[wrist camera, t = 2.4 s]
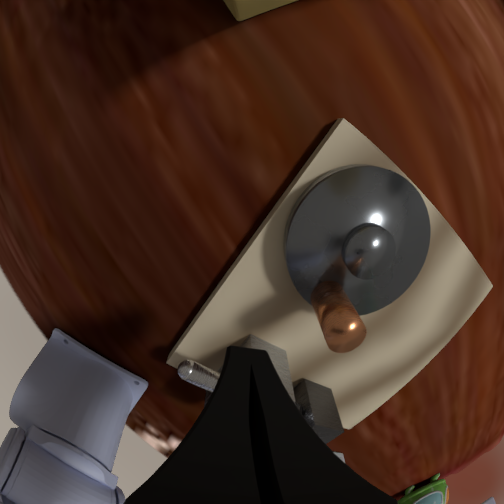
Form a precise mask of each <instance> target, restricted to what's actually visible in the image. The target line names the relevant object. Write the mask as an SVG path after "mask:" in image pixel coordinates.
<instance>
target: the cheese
mask: <svg viewBox="0 0 504 504" xmlns="http://www.w3.org/2000/svg"><path fill="white" fill-rule="evenodd" d="M223 1H224V2H225V4H226V5H227V7H228V8H229V10H230V11H231V13H232V14H233V16H234V17H235V19H236V20H237V21H243V20H245V19H248V18H250V17H253V16H256V15H258V14H261V13H264V12H266V11H269V10H272V9H275V8H277V7H280V6H283V5H286V4H289V3H292V2H294V1H297V0H223Z"/></svg>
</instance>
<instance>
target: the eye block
mask: <svg viewBox="0 0 504 504" xmlns="http://www.w3.org/2000/svg"><path fill="white" fill-rule="evenodd" d="M239 347H246V348H253V349H261V350H266V351H267V352H268V354H269V356H270V359H271V361H272V363H273V365H274V367H275V369H276V371H277V373H278V375H279V377H280V379H281V381H282V383H283V385H284V386H285V388H286V390H287V392H288V393H289V395H290V397H291V398H292V400H293V402H294V403H295V402H296V401H295V396H294V391H293V385H292V380H291V375H290V369H289V364H288V359H287V354H286V351H285V350H283V349H281V348H279V347H277V346H275V345H273V344H271V343H269V342H266V341H264V340H262V339H260V338H258V337H256V336H254V335H252V334H250V335H249V336H248V337H247V338H246V339H245V341H244V342H243V343H242V344H241V345H240V346H239ZM222 367H223V365H222V366H221V367H220V369H219V370H218V371H217V372H219V373H221V371H222ZM211 394H212V392H210V391H208V390H206V396H205V405H206V403H207V402H208V400H209V398H210V396H211ZM205 405H204V407H205Z"/></svg>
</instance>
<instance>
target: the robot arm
mask: <svg viewBox="0 0 504 504" xmlns="http://www.w3.org/2000/svg"><path fill="white" fill-rule="evenodd" d="M147 387H148V382H147V381H146V380H144V379H142V378H140V377H138V376H136V375H134V374H132V373H131V372H129V371H127V370H125V369H123V368H121V367H119V366H118V365H116V364H114V363H112V362H110V361H109V360H107V359H105V358H103V357H102V356H100V355H98V354H97V353H95V352H93V351H92V350H90V349H88V348H87V347H85V346H84V345H82V344H81V343H79V342H77V341H76V340H74V339H73V338H71V337H70V336H68V335H67V334H65V333H64V332H62V331H61V330H59V329H57V328H55V329H54V330H53V332H52V336H51V338H50V339H49V340H48V342H47V343H46V344H45V346H44V347H43V348H42V350H41V351H40V353H39V354H38V356H37V357H36V358H35V360H34V361H33V363H32V364H31V366H30V367H29V369H28V370H27V372H26V373H25V374H24V376H23V378H22V379H21V381H20V383H19V385H18V387H17V389H16V391H15V393H14V396H13V398H12V401H11V405H10V412H9V415H10V419H11V420H12V421H13V422H14V423H15V424H16V425H18V426H19V427H18V428H11V429H10V430H9V432H8V434H7V436H6V437H5V440H4V441H3V443H2V445H1V447H0V504H398V503H397V500H396V499H394V498H393V497H391V496H389V495H388V494H386V493H384V492H383V491H381V490H379V489H378V488H376V487H375V486H373V485H371V484H370V483H369V482H367V481H366V480H365V479H363V478H362V477H361V476H359V475H358V474H357V473H355V472H354V471H353V470H352V469H351V468H350V467H349V466H348V465H346V464H345V463H344V462H343V461H342V460H341V459H340V458H339V457H338V456H337V455H336V454H334V453H333V451H332V450H331V449H330V448H329V447H328V446H327V445H326V444H325V443H324V442H323V441H322V440H321V438H320V437H319V436H318V435H317V434H316V432H315V431H314V430H313V429H312V427H311V426H310V425H309V423H308V422H307V421H306V419H305V418H304V417H303V415H302V414H301V412H300V411H299V409H298V408H297V406H296V405H295V403H294V402H293V400H292V398H291V397H290V395H289V393H288V392H287V390H286V388H285V386H284V385H283V383H282V381H281V379H280V377H279V375H278V373H277V371H276V369H275V367H274V365H273V363H272V361H271V359H270V356H269V354H268V352H267V351H266V350H261V349H253V348H246V347H238V346H231V345H230V346H229V347H227V349H226V354H225V358H224V363H223V367H222V371H221V374H220V377H219V379H218V381H217V383H216V386H215V388H214V390H213V392H212V394H211V396H210V398H209V400H208V402H207V403H206V405H205V407H204V409H203V411H202V412H201V414H200V415H199V417H198V419H197V420H196V422H195V423H194V425H193V426H192V428H191V429H190V431H189V432H188V434H187V435H186V436H185V438H184V439H183V440H182V442H181V443H180V444H179V445H178V447H177V448H176V449H175V450H174V452H173V453H172V454H171V455H170V456H169V458H168V459H167V460H166V461H165V462H164V463H163V464H162V465H161V466H160V467H159V468H158V470H157V471H156V472H155V473H154V474H153V475H152V476H151V477H150V478H149V479H148V480H147V481H146V482H145V483H144V484H142V485H141V486H140V487H139V488H138V489H137V490H136V491H135V492H133V493H132V494H131V495H130V496H129V497H128V498H127V499H125V496H124V494H123V492H122V490H121V489H120V488H119V487H117V486H116V484H117V480H118V477H117V476H115V475H114V474H112V473H111V471H112V467H113V464H114V460H115V457H116V453H117V450H118V446H119V443H120V439H121V436H122V432H123V429H124V426H125V423H126V419H127V416H128V414H129V413H130V412H131V410H132V409H133V407H134V406H135V404H136V403H137V402H138V400H139V399H140V397H141V396H142V394H143V393H144V392H145V390H146V389H147ZM482 504H496V503H495V500H494V498H493V497H490V498H489V499H488V500H486V501H485V502H483V503H482Z"/></svg>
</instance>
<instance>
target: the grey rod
mask: <svg viewBox="0 0 504 504" xmlns="http://www.w3.org/2000/svg"><path fill="white" fill-rule="evenodd" d="M178 374H179V376H180V377H181V378H182V379H183V380H185V381H187V382H189V383H192V384H194V385H196V386H198V387H201V388H203V389H205V390H208V391H210V392H213V390H214V388H215V386H216V383H217V381H218V379H219V377H220V374H221V373H219V372H216V371H214V370H212V369H210V368H207V367H205V366H203V365H201V364H199V363H197V362H195V361H192V360H184V361H182V362H181V363H180V364H179V366H178ZM293 391H294V396H295V401H296V402H295V405H296V406H297V408H298V409H299V411H300V412H301V414H302V415H303V417H304V418H305V419H306V421H307V422H308V423H309V425H310V426H311V427H312V429H313V430H314V431H315V432H316V434H317V435H318V436H319V437H320V438H321V440H322V441H323V442H324V443H325V444H326V443H328V442H329V441H331V440H333V439H334V438H336V437H337V436H338V435H340V434H341V433H343V432H344V429H343V426H342V422H341V419H340V416H339V413H338V409H337V406H336V403H335V400H334V396H333V393H332V390H331V389H330V388H328V387H325V386H322V385H320V384H317V383H315V382H312V381H310V380H307V379H305V378H304V379H303V380H302V381H301V382H300V383H299V384H298V385H296V386H295V387H294V388H293Z"/></svg>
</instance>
